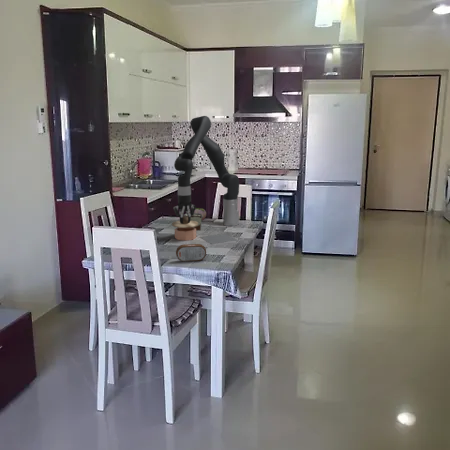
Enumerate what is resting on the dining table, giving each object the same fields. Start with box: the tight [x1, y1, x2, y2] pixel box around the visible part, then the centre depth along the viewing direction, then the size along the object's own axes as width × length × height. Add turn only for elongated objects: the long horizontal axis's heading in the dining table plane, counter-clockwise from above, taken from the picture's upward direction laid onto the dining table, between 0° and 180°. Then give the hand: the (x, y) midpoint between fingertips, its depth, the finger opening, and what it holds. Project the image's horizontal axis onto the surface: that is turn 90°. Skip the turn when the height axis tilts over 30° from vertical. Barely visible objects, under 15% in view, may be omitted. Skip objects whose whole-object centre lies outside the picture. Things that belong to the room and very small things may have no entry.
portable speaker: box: [175, 243, 207, 263], centre depth 230 cm, size 15×3×8 cm, turn 99°
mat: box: [199, 233, 238, 245], centre depth 269 cm, size 17×17×1 cm
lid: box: [171, 215, 198, 228], centre depth 268 cm, size 15×15×5 cm
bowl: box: [174, 227, 197, 241], centre depth 270 cm, size 12×12×6 cm
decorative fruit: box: [194, 206, 207, 221], centre depth 312 cm, size 9×8×10 cm
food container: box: [183, 213, 203, 232], centre depth 291 cm, size 12×6×10 cm, turn 84°
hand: (185, 222), depth 269 cm, fingers closed on lid, 3 cm apart
